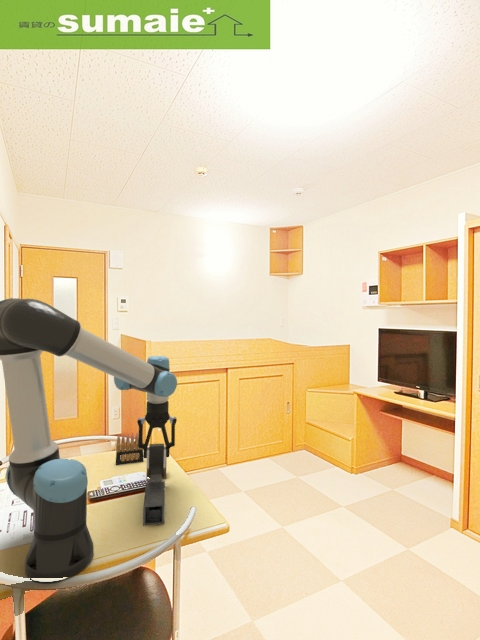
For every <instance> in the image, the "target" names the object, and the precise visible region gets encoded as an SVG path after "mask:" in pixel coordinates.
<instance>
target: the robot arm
mask: <svg viewBox="0 0 480 640" xmlns="http://www.w3.org/2000/svg"><path fill="white" fill-rule="evenodd" d="M44 352H46V353H49V354H52V355H54V356H57V357H59V358H60V357H63V356H66V357H69V358H71V359H74V360H76V361H78V362H81V363H82V364H85V365H88V366H89V367H92V368H94V369H96V370H99V371H101V372H103V373H104V374H108V375H110V376H112V377H113V382H114V383H113V384H114V385H115V387H116V388H117V389H118V390H120V391H129V390H136V391H138V392H139V391H140V392H144V393H146V407H145V408H146V411H145V412H146V414H145V415H144V417H138V418H137V426H138V447H139V448H142V449H143V459H146V470H147V469H149V445H150V443H149V442H150V441H151V438H152V437H151V436H152V432H153V430H154V429H156V428H158V429H161V432H162V436H163V440H164V468H166V469H167V459H166V457H167V458H169V457H170V449H171V448H172V447H175V446H176V445H175V444H176V443H175V442H176V423H177V421H178V420H177V417H176V416H174V417H173V416H171V415H170V413H169V406H170V405H169V398H170V396H172V395H173V394H174V393H175V392H176V389H177V387H178V379H177V377H176V375H175V374H174V373H172V372H170V359H169V357H167V356H164V355H154V356H153V355H152V356H148V358H147V361H146V360H143V359H142V358H140V357H137V356H136V355H134V354H131V353H129V352H128V351H126V350H124V349H122V348H120V347H119V346H117V345H114V344H112V343H110V341H107V340H105V339H103V338H102V337H100V336H97V335H96V334H93V333H92V332H90V331H88V330H86V329H84V328H83V327H82V323H81V322H80V321H78V320H76V319H74V318H72V317H71V316H69V315H67V314H66V313H65V312H63V311H60V310H59V309H57V308H55V307H54V306H53V305H50V304H48V303H46V302H45V301H42V300H39V299H34V298H19V297H18V298H12V297H11V298H7V299H6V298H5V299H2V300H0V361H1V364H2V371H3V378H4V379H3V380H4V386H5V392H6V393H5V394H6V398H7V399H6V400H7V406H8V412H9V414H8V415H9V419H10V428H11V434H12V435H11V436H12V442H13V451H12V452H11V453H10V454H9V456H8V462H9V464H8V467H7V469H6V474H5V480H6V484H7V486H8V488H9V490H10V492H11V493H12V494H13V495H14V496H15V497H16V498H18V499H20V500H21V501H22V502H23V503H24V504H26V505H27V506H28V507H29V508H30V509H31V510H32V511H33V536H32V540H31V543H30V545H29V548H28V551H27V553H26V556H25V563H24V572H25V575H26V577H27V578H28V577H30V578H63V577H70V578H72V577H74V576H76V575H78V574H80V572H83V570H85V569H86V568H87V567H88V565H90V564H91V562H92V560H93V558H94V541H93V538H92V536H91V534H90V531H89V528H88V525H87V509H88V508H87V507H88V504H87V503H88V499H87V498H88V485H89V482H88V481H89V479H88V475H87V474H88V473H87V469H86V466H85V465H84V464H83V463H82V462H80V461H78V460H76V459H69V458H61V457H60V451H59V449H60V448H59V443H57V442H56V441H54V440H52V438H51V430H50V422H49V421H50V420H49V415H48V406H47V405H48V404H47V399H46V390H45V384H44V376H43V375H44V374H43V366H42V360H41V358H42V357H41V355H42V353H44ZM145 421H146V423H147V424H148V425H149V426H148V431H147V434H146V438H145V441H144V442H143V443H142V439H143V438H144V437H143V434H144V432H143V431H144V425H145ZM168 422H169V424H171V426H170V427H171V428H170V429H171V430H170V432H171V433H170V435H171V436H170V437H171V438H170V440H171V441H170V442H169V437H168V433H167V429H166V424H167V423H168ZM143 440H144V439H143Z"/></svg>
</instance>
